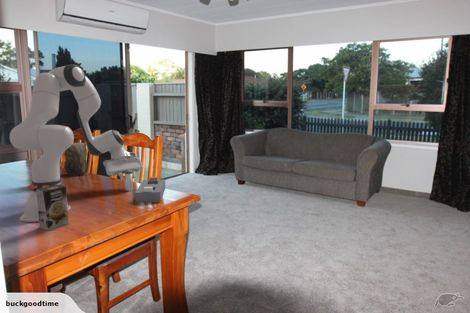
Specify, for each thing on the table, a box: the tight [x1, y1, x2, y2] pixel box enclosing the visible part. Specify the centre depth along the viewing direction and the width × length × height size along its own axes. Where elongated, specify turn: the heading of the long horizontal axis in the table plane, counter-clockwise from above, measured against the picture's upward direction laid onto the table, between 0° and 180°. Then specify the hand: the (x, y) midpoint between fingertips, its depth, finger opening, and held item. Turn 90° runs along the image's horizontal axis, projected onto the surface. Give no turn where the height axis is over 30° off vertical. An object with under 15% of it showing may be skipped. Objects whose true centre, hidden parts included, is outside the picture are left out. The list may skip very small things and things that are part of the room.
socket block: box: [134, 176, 166, 204], centre depth 186 cm, size 25×12×7 cm, turn 5°
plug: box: [123, 170, 134, 192], centre depth 194 cm, size 4×4×11 cm
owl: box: [63, 141, 89, 177], centre depth 230 cm, size 13×13×20 cm
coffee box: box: [36, 184, 70, 231], centre depth 143 cm, size 9×6×16 cm
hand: (129, 178), depth 193 cm, fingers closed on plug, 4 cm apart
